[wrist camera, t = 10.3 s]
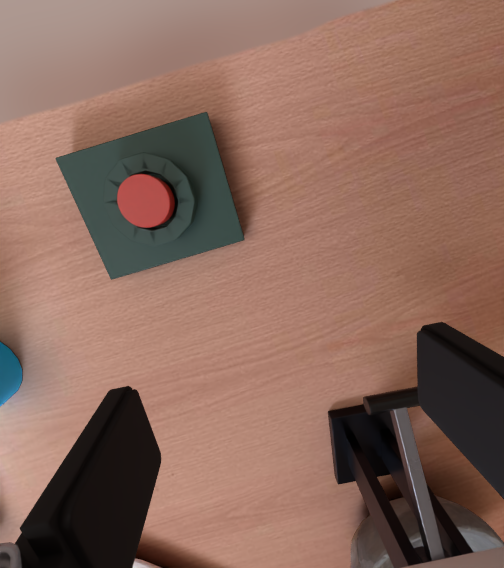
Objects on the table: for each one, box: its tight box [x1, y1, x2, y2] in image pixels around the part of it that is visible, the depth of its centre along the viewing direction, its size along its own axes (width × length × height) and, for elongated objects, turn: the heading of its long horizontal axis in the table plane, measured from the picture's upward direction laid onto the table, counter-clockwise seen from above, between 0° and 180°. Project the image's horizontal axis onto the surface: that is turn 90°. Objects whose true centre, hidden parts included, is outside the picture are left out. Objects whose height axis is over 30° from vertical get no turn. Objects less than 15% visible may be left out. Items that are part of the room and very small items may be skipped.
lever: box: [363, 387, 451, 563], centre depth 22 cm, size 15×5×2 cm, turn 10°
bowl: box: [351, 496, 504, 568], centre depth 34 cm, size 18×18×8 cm
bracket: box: [328, 405, 474, 568], centre depth 27 cm, size 10×8×15 cm
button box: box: [56, 112, 245, 279], centre depth 23 cm, size 12×10×4 cm
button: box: [117, 174, 175, 228], centre depth 20 cm, size 4×4×2 cm
